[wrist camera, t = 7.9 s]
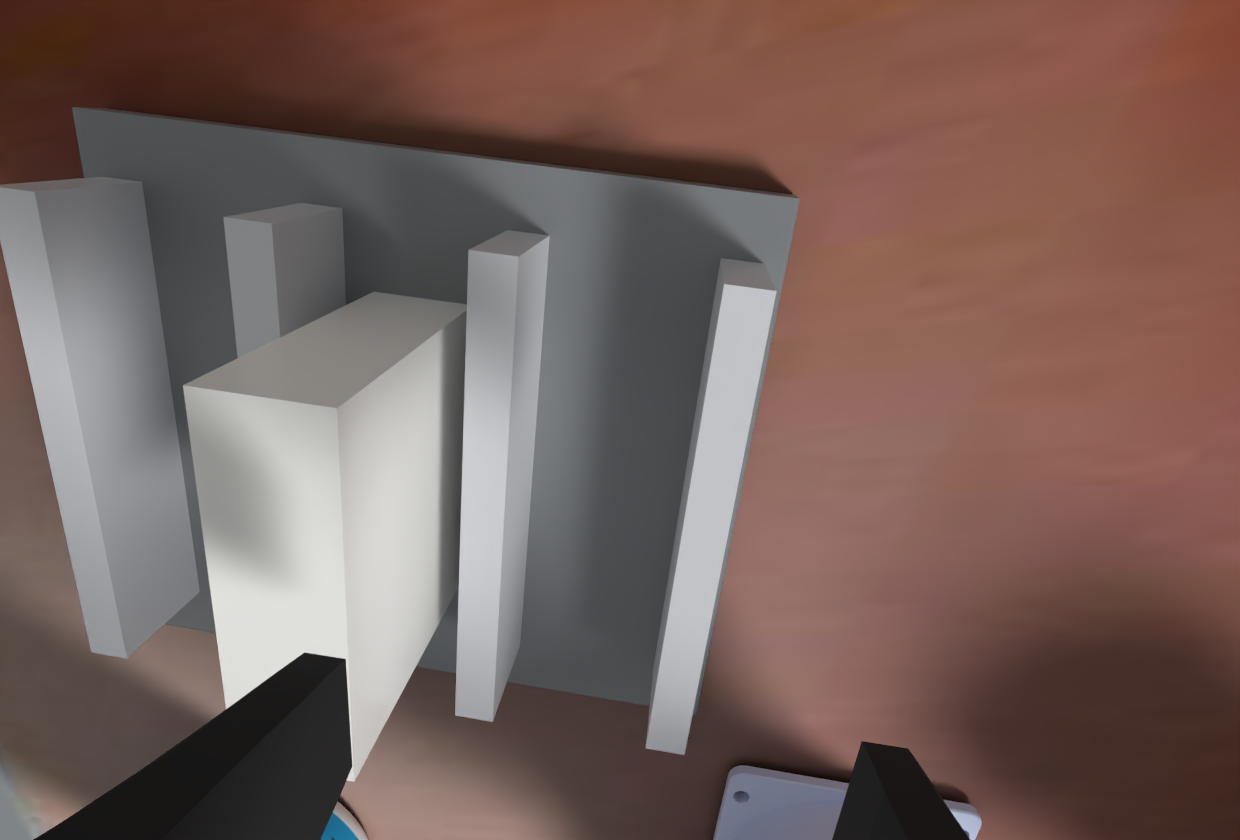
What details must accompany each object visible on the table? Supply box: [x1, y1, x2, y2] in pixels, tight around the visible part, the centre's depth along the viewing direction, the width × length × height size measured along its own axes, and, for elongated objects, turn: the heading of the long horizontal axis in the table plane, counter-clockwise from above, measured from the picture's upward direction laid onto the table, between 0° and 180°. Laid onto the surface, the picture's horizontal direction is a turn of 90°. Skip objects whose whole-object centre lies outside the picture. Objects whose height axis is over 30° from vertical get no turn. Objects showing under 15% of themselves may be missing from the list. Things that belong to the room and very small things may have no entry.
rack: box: [0, 107, 800, 755], centre depth 18 cm, size 15×17×4 cm
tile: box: [183, 292, 467, 782], centre depth 16 cm, size 8×2×7 cm, turn 174°
